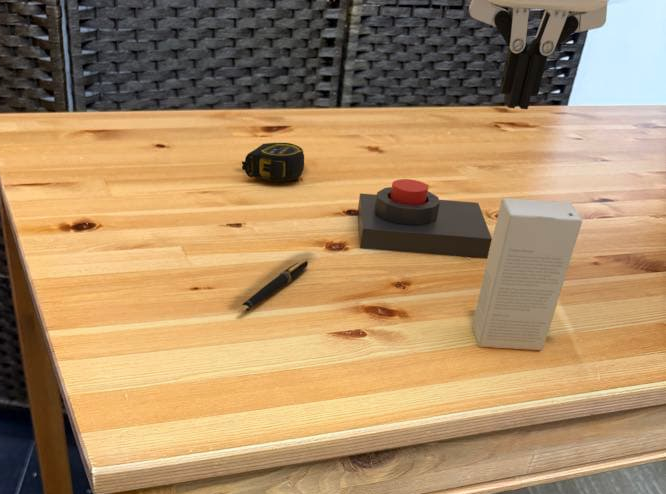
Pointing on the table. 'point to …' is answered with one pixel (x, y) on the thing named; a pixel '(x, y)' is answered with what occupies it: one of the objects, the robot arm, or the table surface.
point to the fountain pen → (275, 284)
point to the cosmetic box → (525, 272)
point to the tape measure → (275, 162)
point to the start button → (409, 192)
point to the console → (422, 226)
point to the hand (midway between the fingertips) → (515, 104)
